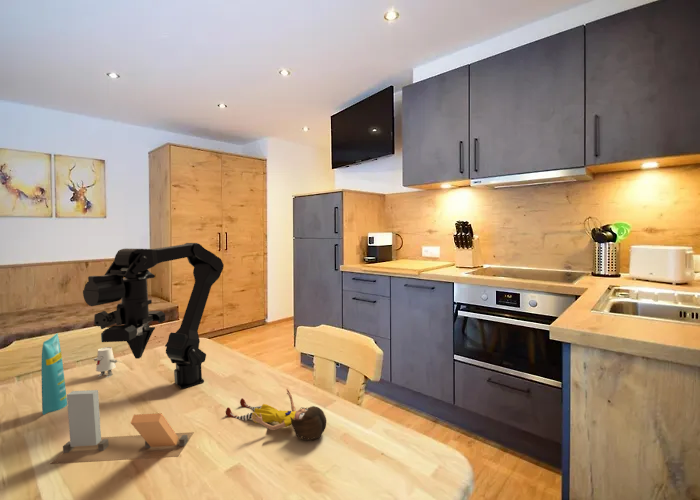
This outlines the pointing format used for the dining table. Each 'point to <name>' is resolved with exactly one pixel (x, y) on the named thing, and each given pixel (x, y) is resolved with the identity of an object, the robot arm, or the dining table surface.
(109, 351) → the toy figure
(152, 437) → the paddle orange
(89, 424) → the grey tall block
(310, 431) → the figurine
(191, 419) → the dining table surface
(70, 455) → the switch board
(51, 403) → the tube
